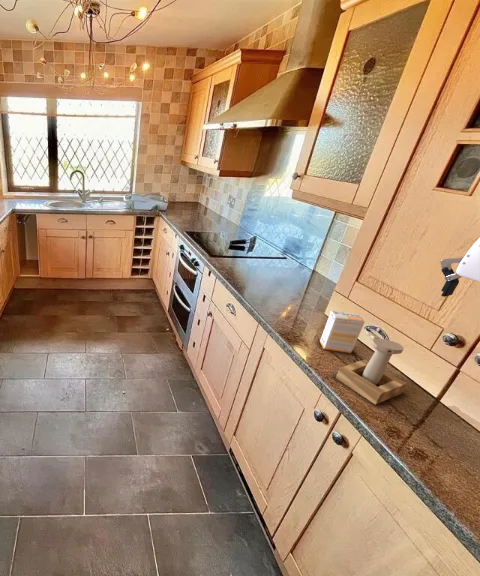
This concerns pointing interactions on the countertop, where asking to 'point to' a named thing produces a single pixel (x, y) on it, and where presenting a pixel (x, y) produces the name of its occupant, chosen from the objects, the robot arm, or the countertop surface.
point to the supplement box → (341, 331)
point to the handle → (380, 359)
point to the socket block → (353, 379)
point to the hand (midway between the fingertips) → (473, 304)
